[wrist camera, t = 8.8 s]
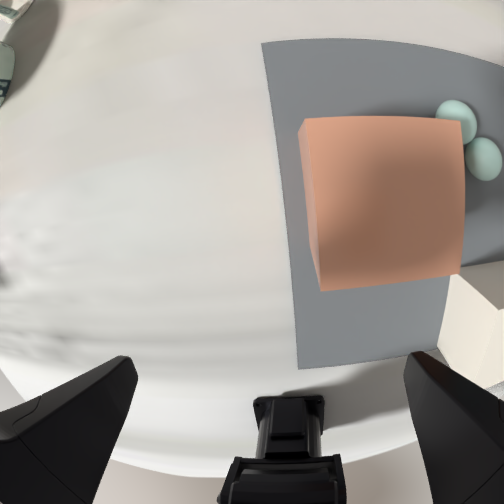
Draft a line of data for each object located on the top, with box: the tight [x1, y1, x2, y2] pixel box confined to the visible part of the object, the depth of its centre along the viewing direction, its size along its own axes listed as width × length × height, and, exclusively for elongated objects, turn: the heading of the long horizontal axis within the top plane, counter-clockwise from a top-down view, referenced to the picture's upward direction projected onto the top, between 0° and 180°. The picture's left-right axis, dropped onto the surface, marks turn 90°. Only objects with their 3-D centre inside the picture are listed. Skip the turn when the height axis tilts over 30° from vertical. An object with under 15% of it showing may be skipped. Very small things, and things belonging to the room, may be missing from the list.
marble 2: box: [465, 137, 502, 181], centre depth 13 cm, size 3×3×3 cm
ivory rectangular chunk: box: [437, 260, 504, 389], centre depth 15 cm, size 7×7×6 cm
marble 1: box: [435, 100, 477, 145], centre depth 13 cm, size 3×3×3 cm
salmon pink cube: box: [298, 116, 465, 291], centre depth 13 cm, size 7×7×6 cm
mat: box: [261, 38, 504, 369], centre depth 17 cm, size 24×21×1 cm
